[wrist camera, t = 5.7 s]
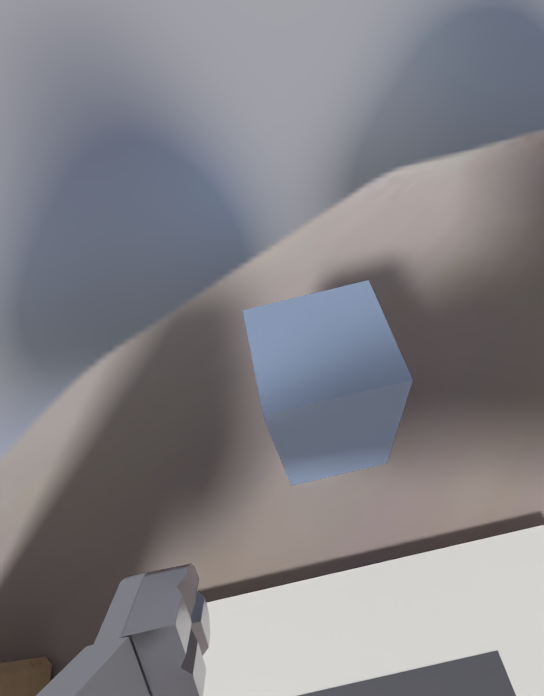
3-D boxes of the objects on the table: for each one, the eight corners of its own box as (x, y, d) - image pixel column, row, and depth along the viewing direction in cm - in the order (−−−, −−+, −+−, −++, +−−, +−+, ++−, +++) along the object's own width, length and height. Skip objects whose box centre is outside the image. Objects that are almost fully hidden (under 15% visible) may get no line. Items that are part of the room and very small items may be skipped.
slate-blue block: (359, 386, 23) (368, 279, 16) (386, 463, 21) (412, 379, 13) (274, 407, 23) (242, 310, 16) (291, 485, 21) (262, 415, 13)
